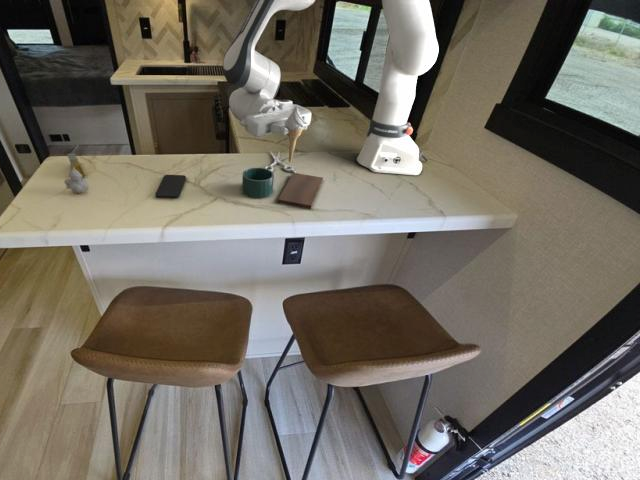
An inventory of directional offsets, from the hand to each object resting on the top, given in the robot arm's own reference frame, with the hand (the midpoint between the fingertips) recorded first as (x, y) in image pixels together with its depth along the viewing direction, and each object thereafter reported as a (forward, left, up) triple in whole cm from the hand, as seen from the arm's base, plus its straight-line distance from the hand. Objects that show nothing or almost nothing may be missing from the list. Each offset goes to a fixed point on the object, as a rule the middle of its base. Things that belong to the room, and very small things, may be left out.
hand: (296, 129), depth 91 cm
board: (-3, -4, -19) cm, 20 cm away
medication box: (+71, +10, -19) cm, 74 cm away
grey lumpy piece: (+61, +22, -19) cm, 67 cm away
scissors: (+10, -23, -19) cm, 32 cm away
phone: (+36, +9, -19) cm, 42 cm away
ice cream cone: (+1, -1, -9) cm, 9 cm away
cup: (+10, +1, -19) cm, 22 cm away
